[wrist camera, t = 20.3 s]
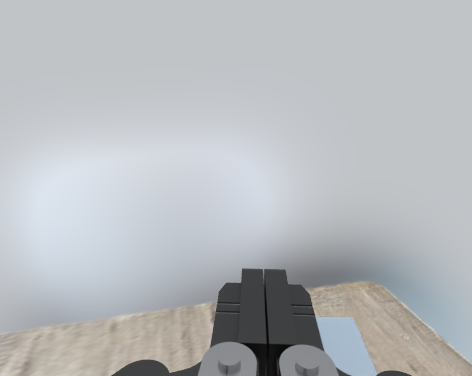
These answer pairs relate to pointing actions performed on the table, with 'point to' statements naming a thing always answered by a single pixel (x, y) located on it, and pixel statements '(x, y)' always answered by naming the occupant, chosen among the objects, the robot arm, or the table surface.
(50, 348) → the table surface
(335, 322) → the mat
